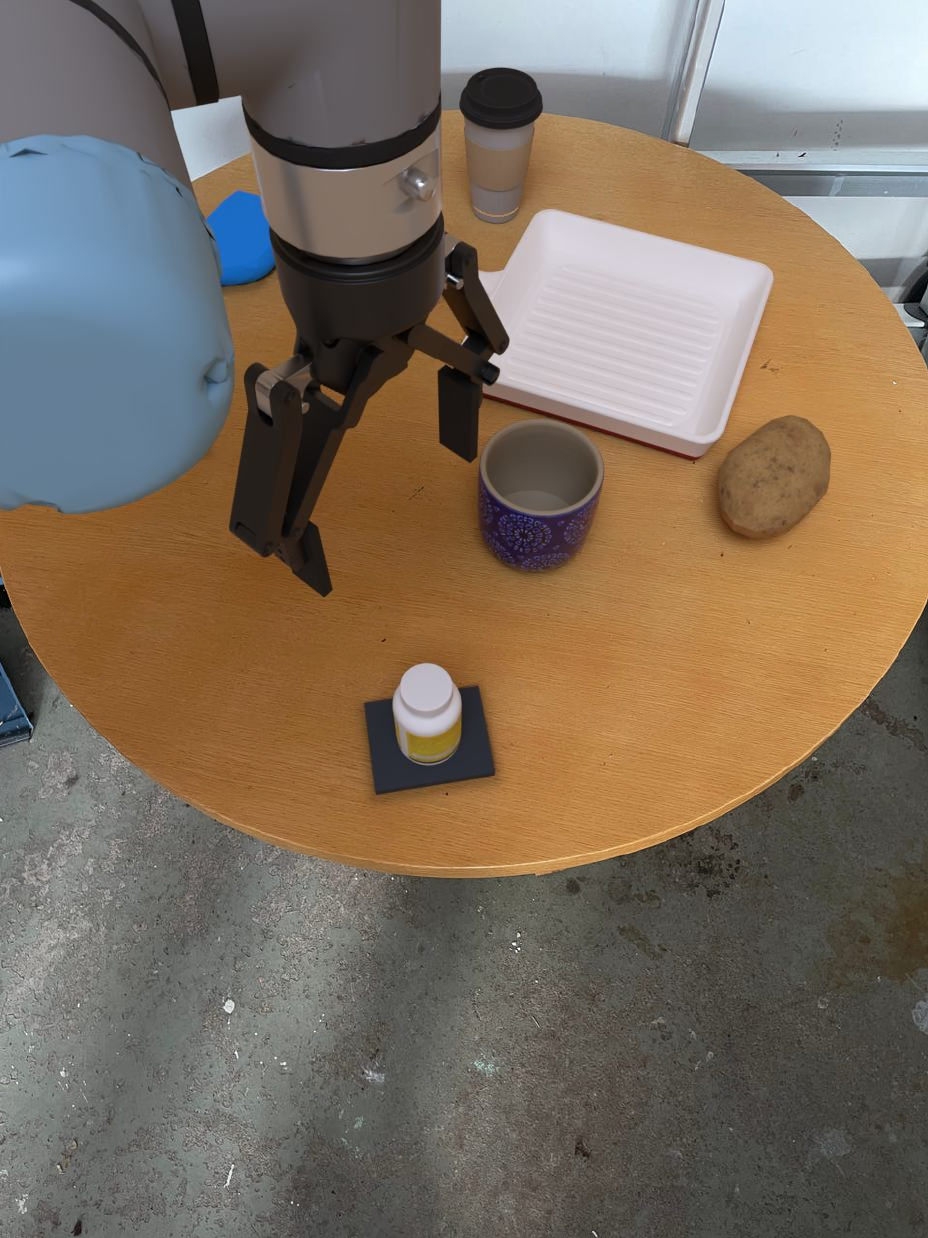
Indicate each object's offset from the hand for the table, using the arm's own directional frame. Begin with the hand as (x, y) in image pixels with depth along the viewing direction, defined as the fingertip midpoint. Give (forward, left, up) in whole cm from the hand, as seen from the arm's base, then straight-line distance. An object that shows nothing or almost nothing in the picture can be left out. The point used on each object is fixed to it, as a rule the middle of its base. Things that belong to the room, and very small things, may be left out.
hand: (388, 513), depth 55 cm
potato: (+37, +13, -25) cm, 46 cm away
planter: (+14, +13, -25) cm, 31 cm away
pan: (+22, +41, -25) cm, 53 cm away
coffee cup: (+20, +63, -25) cm, 71 cm away
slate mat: (+1, -6, -25) cm, 25 cm away
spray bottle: (-14, +55, -25) cm, 62 cm away
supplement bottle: (+1, -6, -24) cm, 25 cm away
